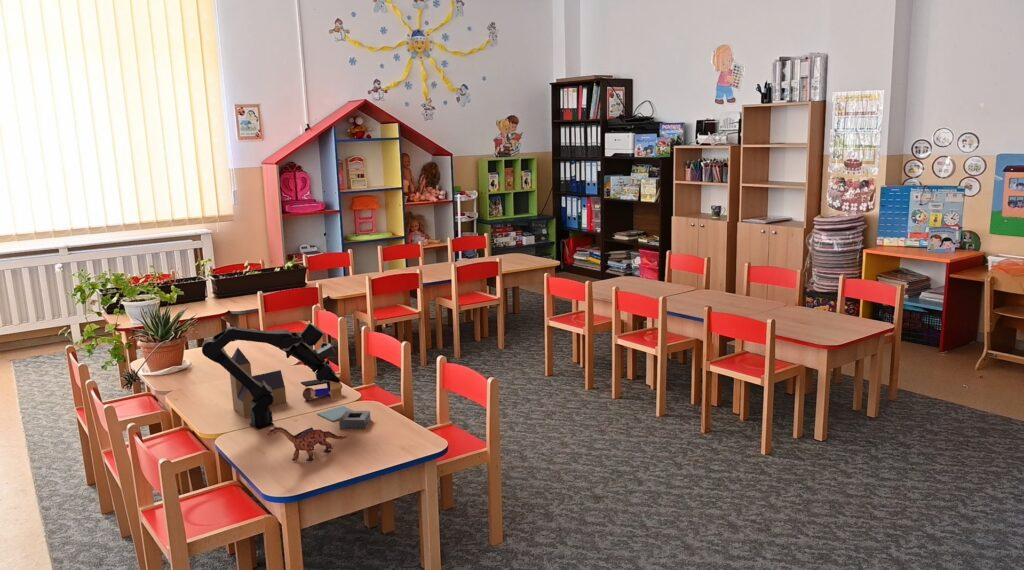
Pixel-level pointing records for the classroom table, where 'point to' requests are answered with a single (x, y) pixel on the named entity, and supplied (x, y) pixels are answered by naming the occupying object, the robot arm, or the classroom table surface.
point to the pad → (334, 413)
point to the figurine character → (311, 393)
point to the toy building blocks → (272, 379)
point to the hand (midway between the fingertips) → (338, 380)
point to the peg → (335, 389)
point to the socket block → (355, 420)
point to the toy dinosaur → (307, 440)
